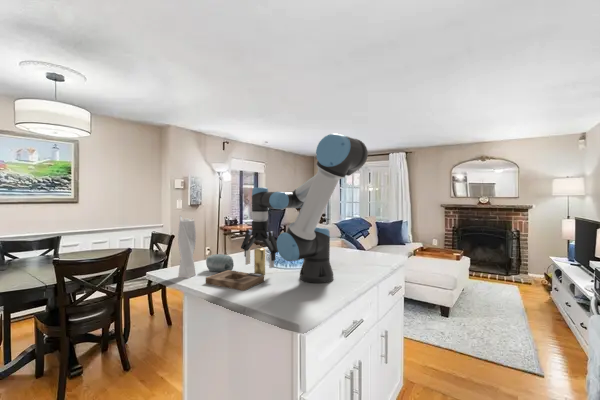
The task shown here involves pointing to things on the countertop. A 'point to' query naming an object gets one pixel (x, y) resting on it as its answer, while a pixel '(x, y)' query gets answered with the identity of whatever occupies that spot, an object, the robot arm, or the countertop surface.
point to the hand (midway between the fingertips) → (259, 265)
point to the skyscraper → (186, 247)
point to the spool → (219, 263)
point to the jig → (235, 279)
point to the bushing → (259, 261)
